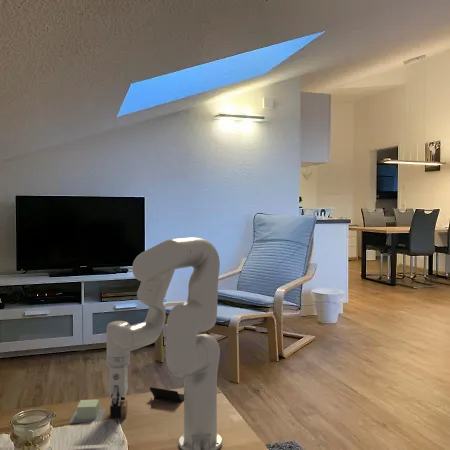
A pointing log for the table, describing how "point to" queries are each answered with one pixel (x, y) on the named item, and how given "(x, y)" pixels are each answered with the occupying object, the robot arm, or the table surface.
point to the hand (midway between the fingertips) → (117, 411)
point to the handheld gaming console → (167, 395)
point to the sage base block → (88, 409)
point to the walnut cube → (123, 409)
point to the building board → (99, 418)
